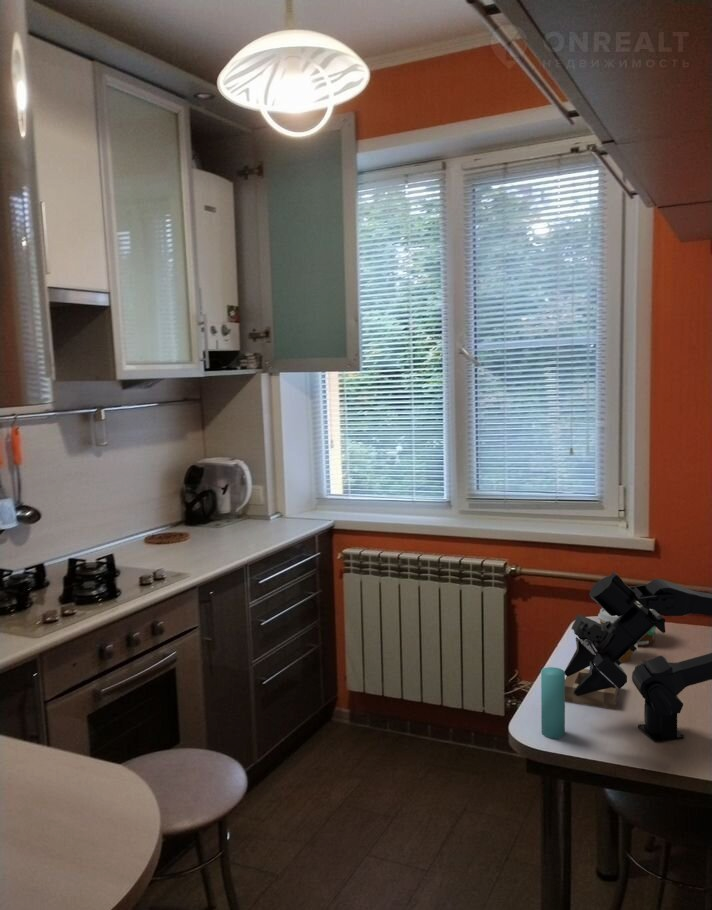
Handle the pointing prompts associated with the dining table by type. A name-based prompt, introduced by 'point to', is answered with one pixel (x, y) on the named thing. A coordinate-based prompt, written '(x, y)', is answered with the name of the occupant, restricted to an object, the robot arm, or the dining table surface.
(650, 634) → the food container
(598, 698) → the block
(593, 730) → the dining table surface
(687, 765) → the dining table surface
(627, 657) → the disposable coffee cup
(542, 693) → the peg
